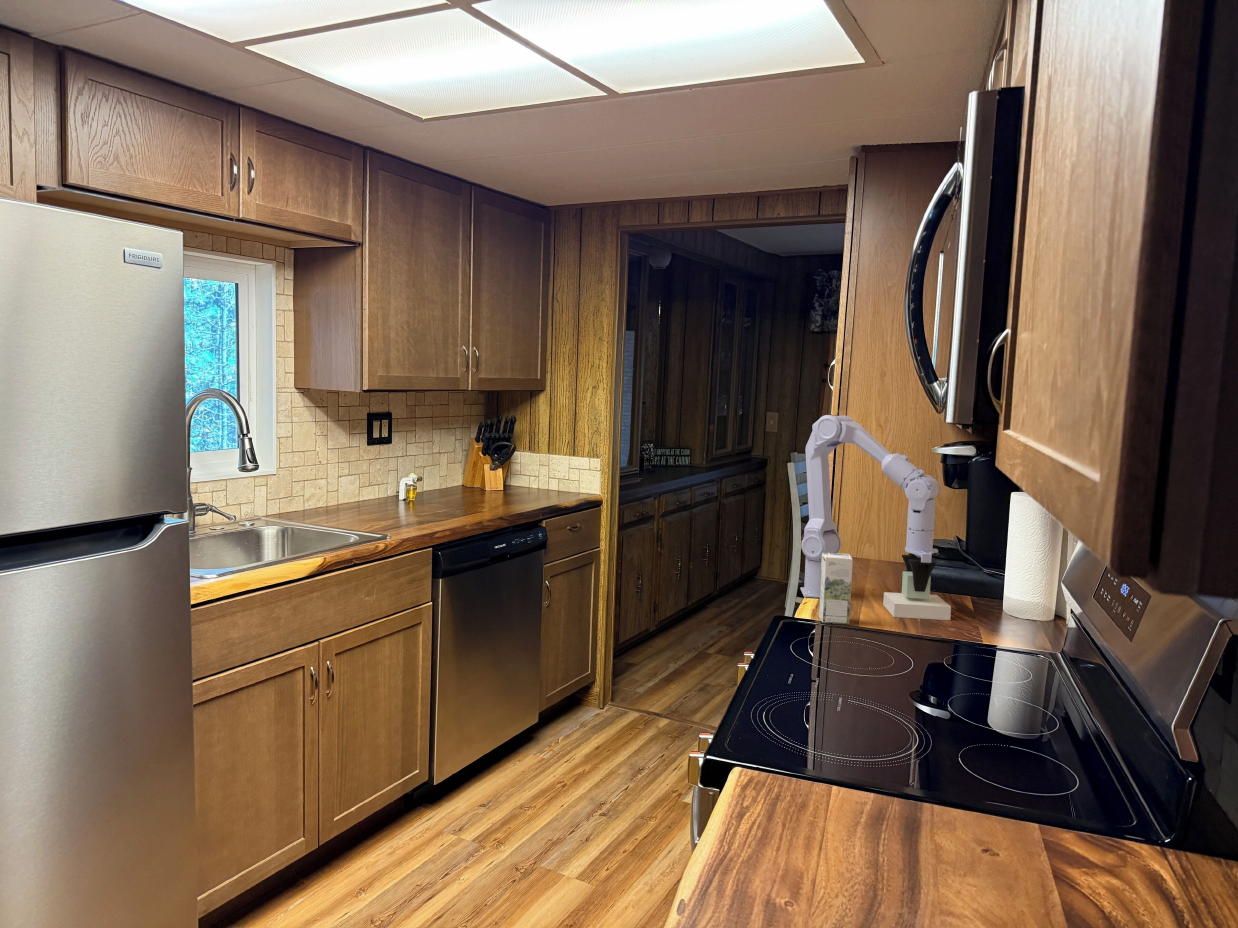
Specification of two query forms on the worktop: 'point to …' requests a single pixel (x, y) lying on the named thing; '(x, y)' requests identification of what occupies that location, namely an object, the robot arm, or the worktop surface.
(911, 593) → the green cube
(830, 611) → the syrup box
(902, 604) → the base block
